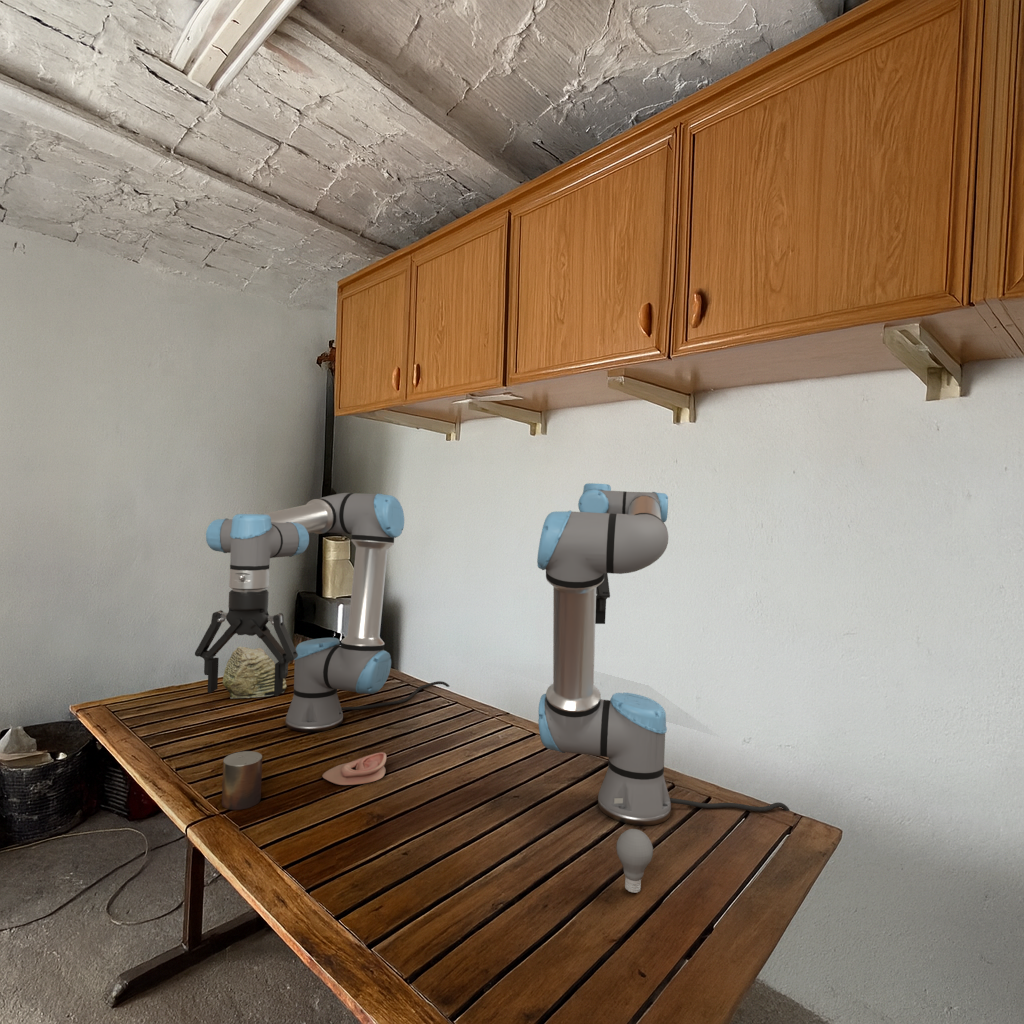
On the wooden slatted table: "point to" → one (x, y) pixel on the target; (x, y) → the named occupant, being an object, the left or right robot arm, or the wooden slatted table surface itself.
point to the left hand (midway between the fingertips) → (245, 692)
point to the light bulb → (634, 857)
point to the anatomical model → (358, 770)
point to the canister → (241, 780)
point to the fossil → (250, 674)
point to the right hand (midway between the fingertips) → (591, 618)
